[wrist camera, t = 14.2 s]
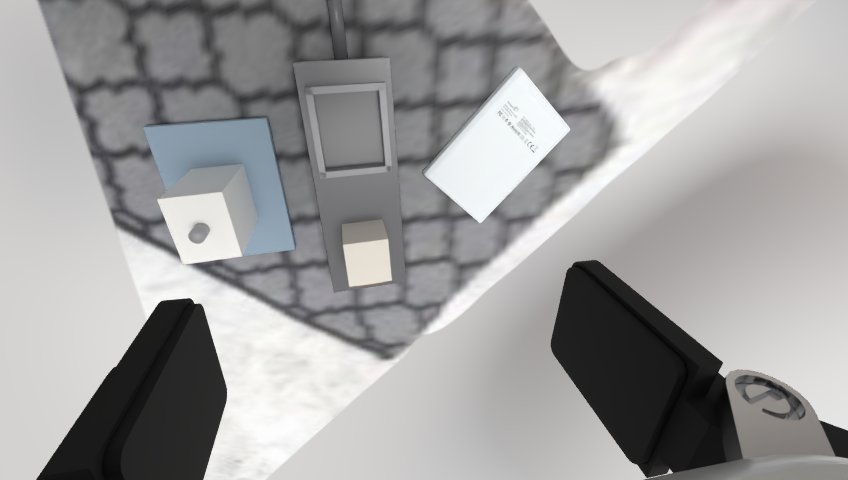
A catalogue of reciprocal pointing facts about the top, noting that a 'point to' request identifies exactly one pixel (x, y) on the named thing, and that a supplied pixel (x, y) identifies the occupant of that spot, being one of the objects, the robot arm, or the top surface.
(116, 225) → the top surface
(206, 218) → the block
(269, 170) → the mat
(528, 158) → the external hard drive
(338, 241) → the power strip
